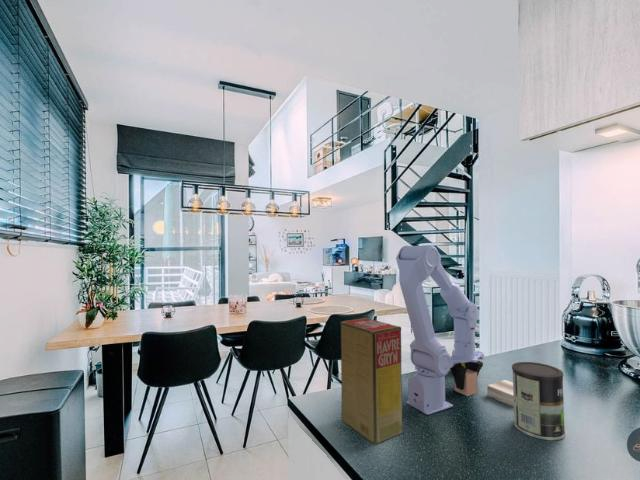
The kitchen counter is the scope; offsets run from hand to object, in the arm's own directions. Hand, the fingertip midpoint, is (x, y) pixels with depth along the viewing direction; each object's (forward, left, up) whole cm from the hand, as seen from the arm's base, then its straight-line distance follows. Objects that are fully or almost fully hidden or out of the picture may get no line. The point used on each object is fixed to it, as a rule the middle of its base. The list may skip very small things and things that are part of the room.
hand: (465, 386), depth 101 cm
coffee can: (-2, -22, -2) cm, 22 cm away
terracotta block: (0, 0, -1) cm, 1 cm away
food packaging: (-36, -2, -2) cm, 36 cm away
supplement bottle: (+11, +11, -2) cm, 16 cm away
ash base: (+7, -9, -1) cm, 11 cm away
